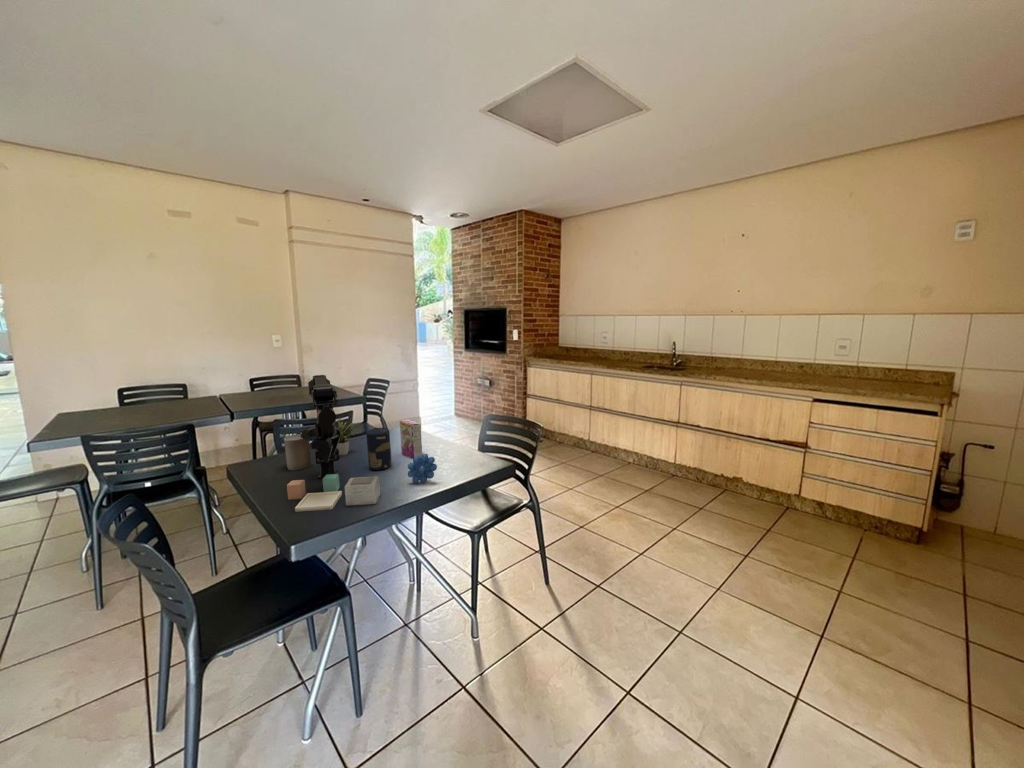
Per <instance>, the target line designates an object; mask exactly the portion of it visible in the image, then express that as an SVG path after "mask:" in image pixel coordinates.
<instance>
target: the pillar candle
mask: <svg viewBox="0 0 1024 768" xmlns="http://www.w3.org/2000/svg"><path fill="white" fill-rule="evenodd" d="M309 440H310V439H308V440H306V441H304V439H303V438H301V433H298V434H291V435H288V436H286V437H284V438H283V443H284V449H285V451H284V452H285V460H286V467H287V470H288V471H300V470H304V469H308V468H310V467H312V465H313V464H312V458H311V446H310V441H309Z"/></svg>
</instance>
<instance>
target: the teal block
mask: <svg viewBox="0 0 1024 768" xmlns="http://www.w3.org/2000/svg"><path fill="white" fill-rule="evenodd" d="M322 486H323V492H334V491H339V489H340V476H339V473H337V474H329V475H326V476H325V477H324V478H322Z"/></svg>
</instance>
